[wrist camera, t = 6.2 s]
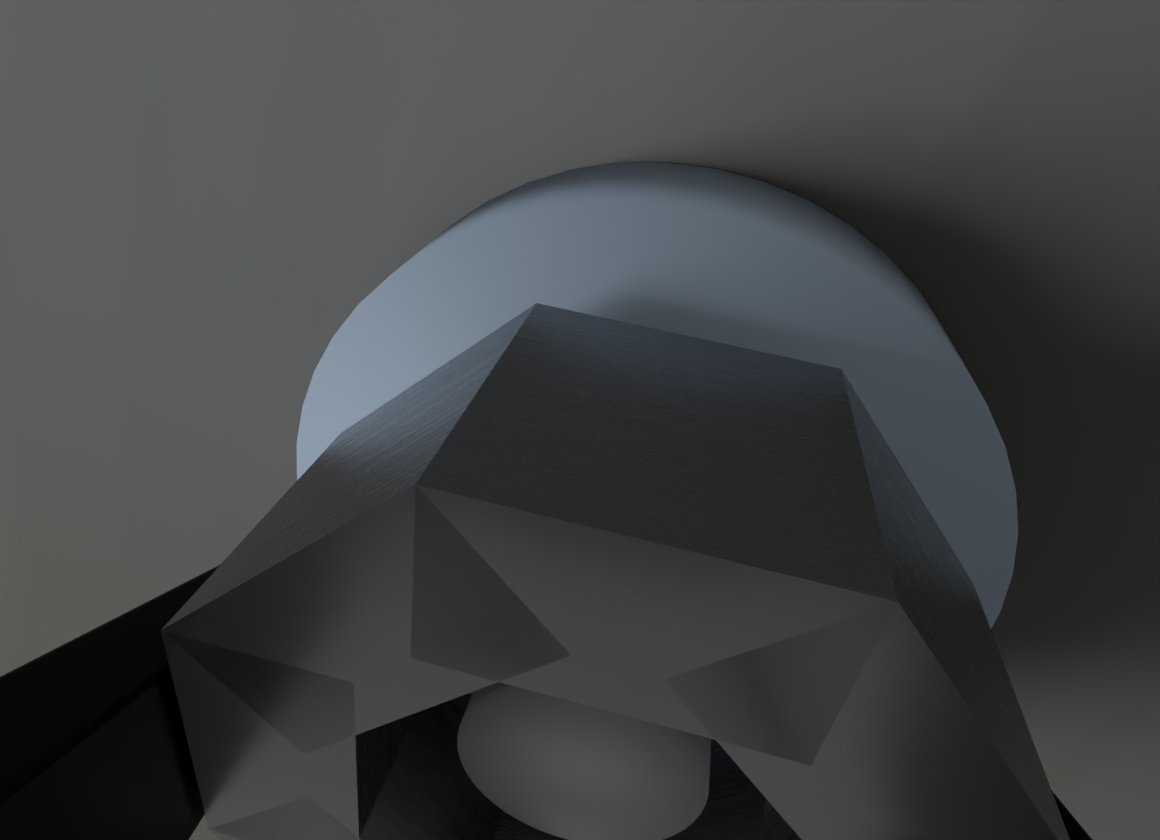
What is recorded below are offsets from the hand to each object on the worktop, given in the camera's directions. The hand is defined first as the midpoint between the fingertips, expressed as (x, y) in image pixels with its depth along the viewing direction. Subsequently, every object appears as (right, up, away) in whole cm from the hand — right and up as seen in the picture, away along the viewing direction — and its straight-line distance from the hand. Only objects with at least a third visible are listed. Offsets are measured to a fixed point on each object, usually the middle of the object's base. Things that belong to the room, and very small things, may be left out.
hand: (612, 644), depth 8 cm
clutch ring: (0, 0, +1) cm, 1 cm away
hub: (+1, +2, +3) cm, 3 cm away
